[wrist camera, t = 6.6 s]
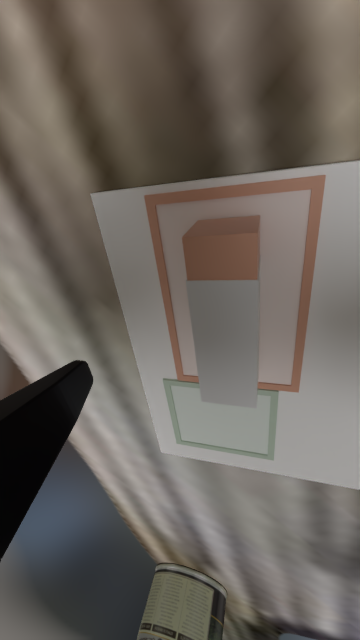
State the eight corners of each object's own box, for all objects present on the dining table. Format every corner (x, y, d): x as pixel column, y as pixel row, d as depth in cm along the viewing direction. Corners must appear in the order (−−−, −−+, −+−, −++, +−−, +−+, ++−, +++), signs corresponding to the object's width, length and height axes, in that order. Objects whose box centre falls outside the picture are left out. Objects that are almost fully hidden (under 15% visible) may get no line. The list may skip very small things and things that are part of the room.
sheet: (398, 490, 17) (402, 500, 17) (162, 448, 22) (160, 454, 22) (584, 131, 8) (604, 131, 7) (95, 192, 12) (88, 194, 12)
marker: (258, 370, 15) (256, 408, 13) (210, 366, 16) (201, 401, 13) (261, 215, 11) (259, 232, 9) (196, 220, 11) (180, 237, 9)
